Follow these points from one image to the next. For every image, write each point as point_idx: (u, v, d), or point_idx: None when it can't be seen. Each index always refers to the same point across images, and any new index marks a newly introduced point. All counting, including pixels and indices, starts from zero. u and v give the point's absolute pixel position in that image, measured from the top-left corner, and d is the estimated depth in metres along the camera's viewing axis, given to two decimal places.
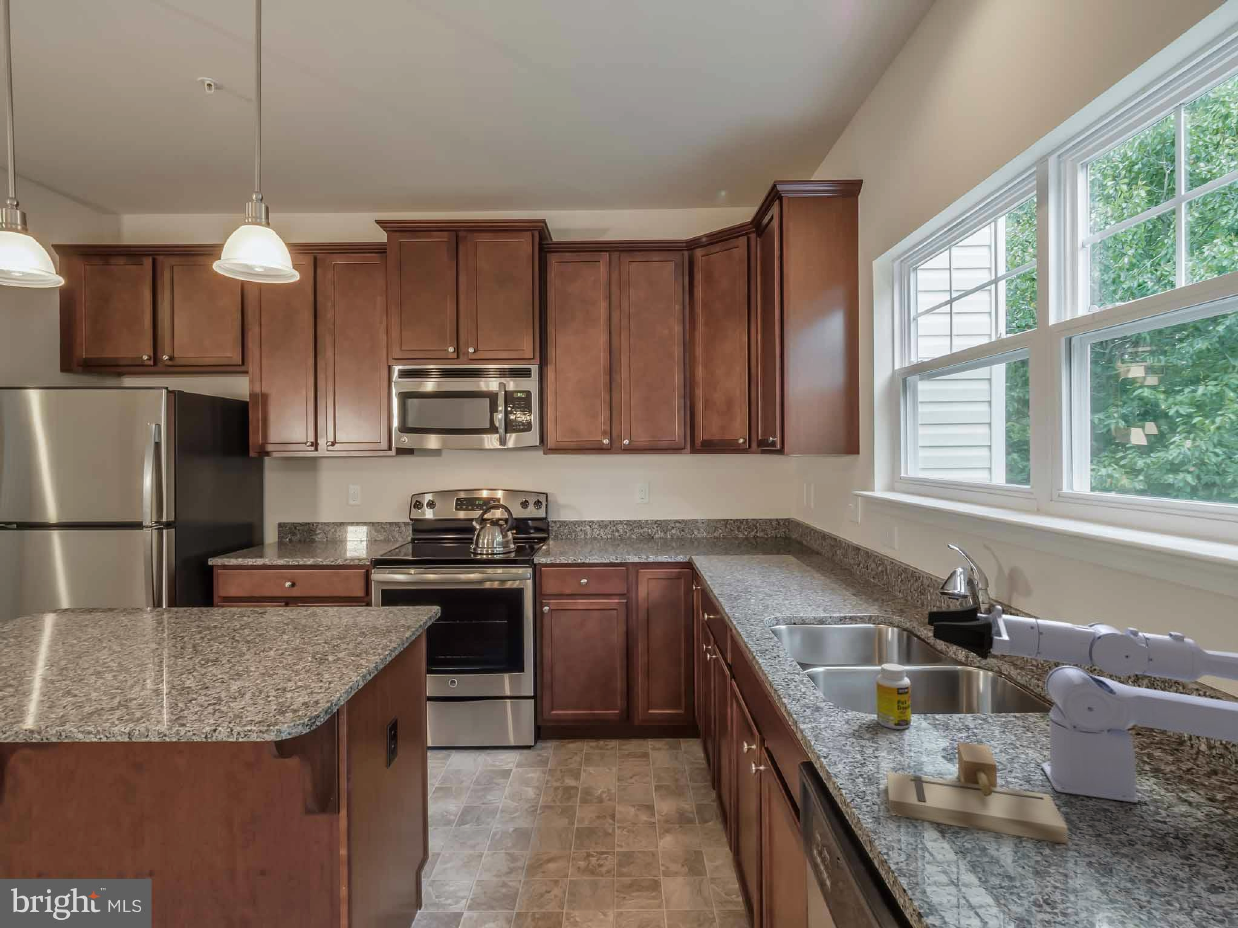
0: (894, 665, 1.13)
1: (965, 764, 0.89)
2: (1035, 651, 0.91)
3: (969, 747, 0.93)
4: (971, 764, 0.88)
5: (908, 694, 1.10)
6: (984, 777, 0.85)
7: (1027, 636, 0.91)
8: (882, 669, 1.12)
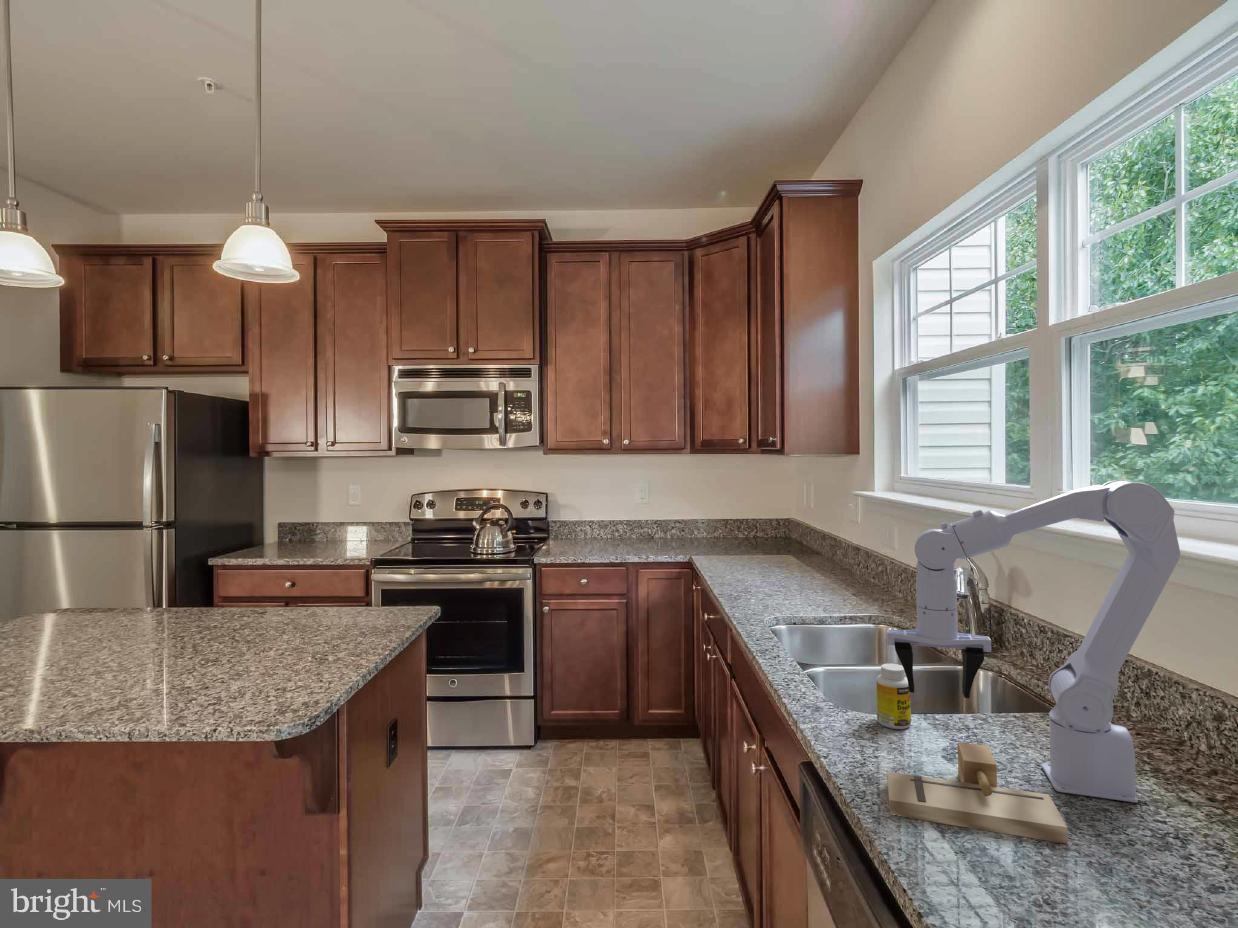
0: (894, 665, 1.13)
1: (965, 764, 0.89)
2: (919, 608, 0.99)
3: (969, 747, 0.93)
4: (971, 764, 0.88)
5: (908, 694, 1.10)
6: (984, 777, 0.86)
7: None
8: (882, 669, 1.12)
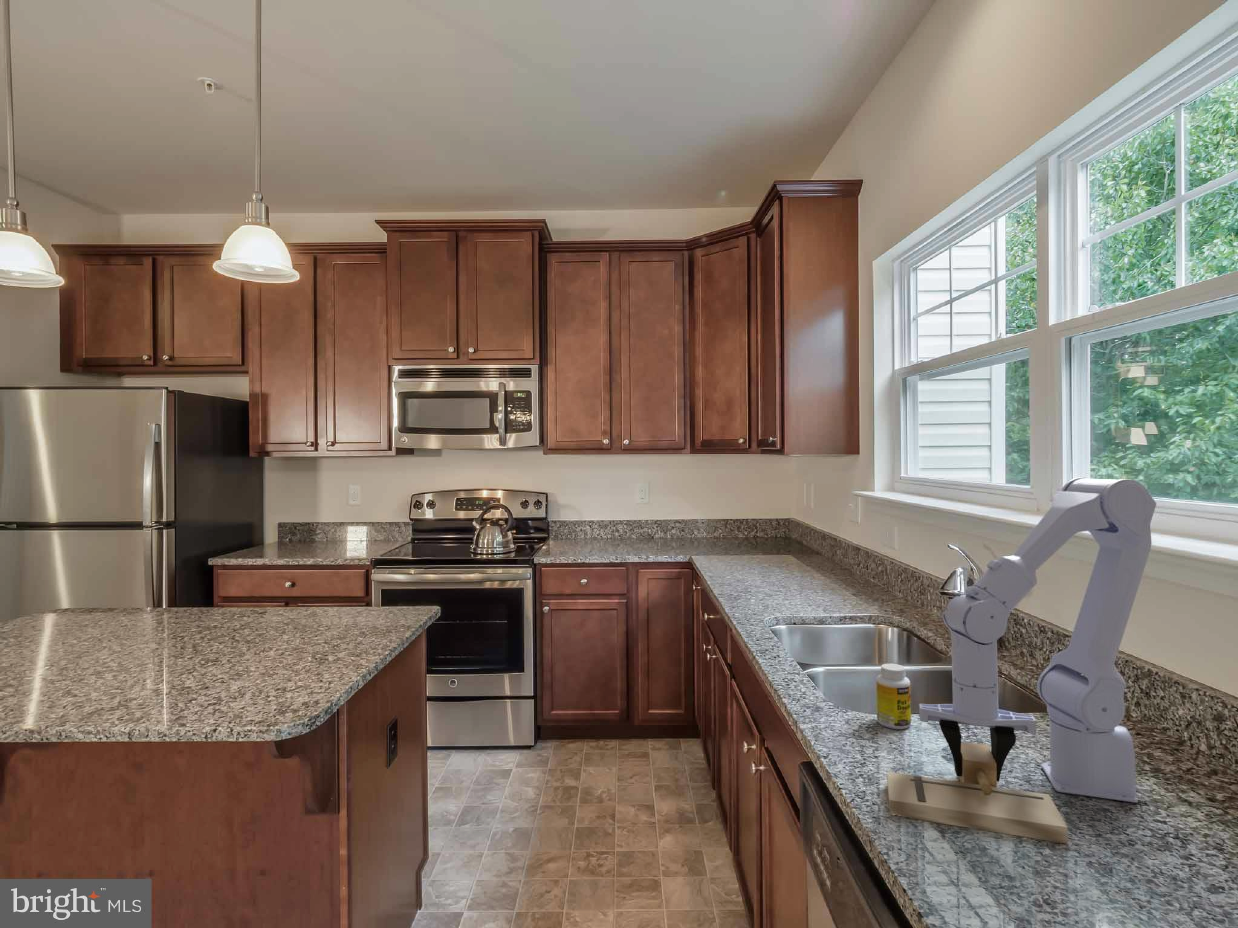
0: (894, 665, 1.13)
1: (965, 763, 0.89)
2: (955, 683, 0.90)
3: (969, 746, 0.93)
4: (971, 763, 0.88)
5: (908, 694, 1.10)
6: (984, 777, 0.86)
7: None
8: (882, 669, 1.12)
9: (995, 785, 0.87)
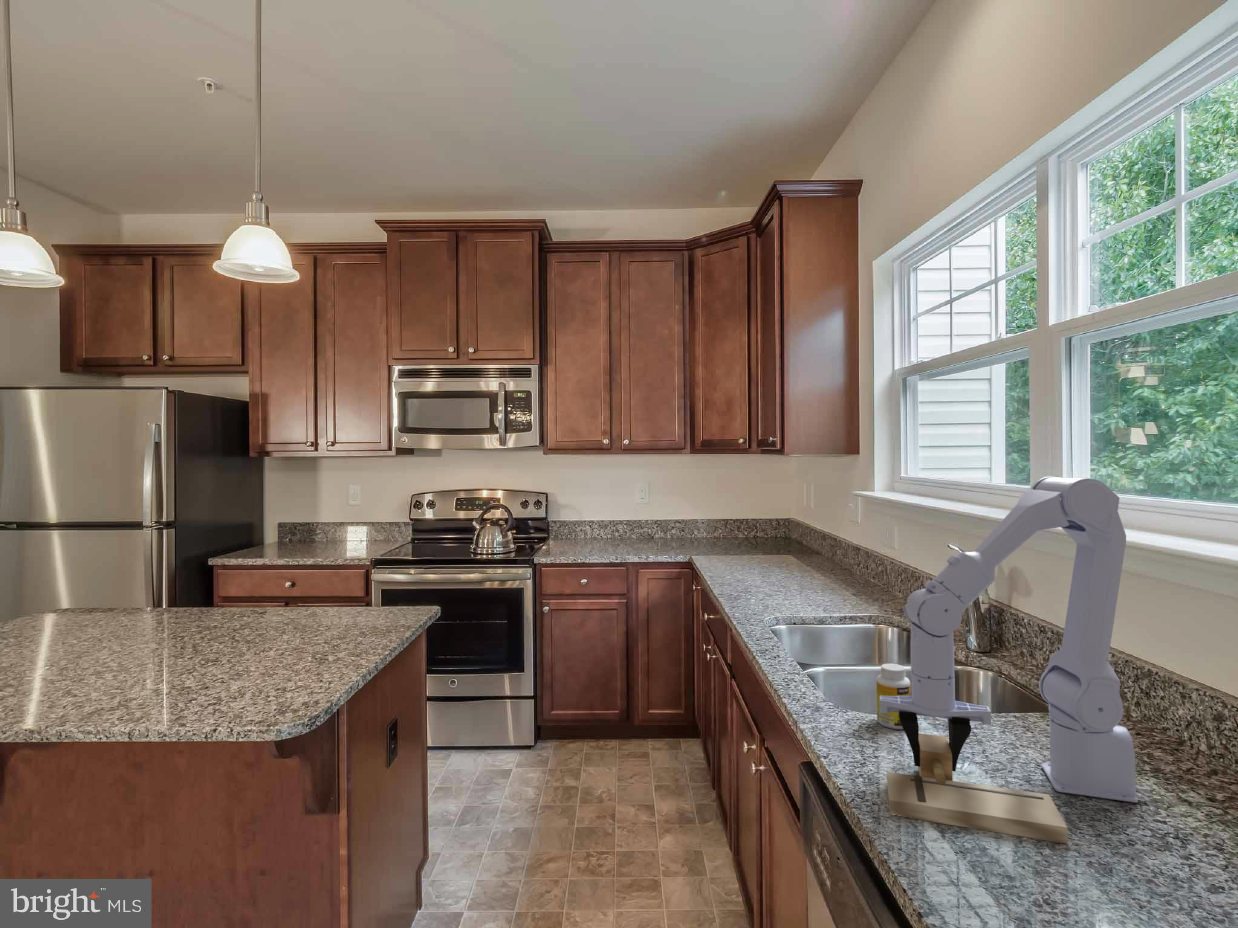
0: (894, 665, 1.13)
1: (922, 754, 0.91)
2: (914, 675, 0.92)
3: (927, 737, 0.95)
4: (928, 754, 0.90)
5: (908, 694, 1.10)
6: (939, 767, 0.87)
7: None
8: (882, 669, 1.12)
9: (951, 775, 0.89)
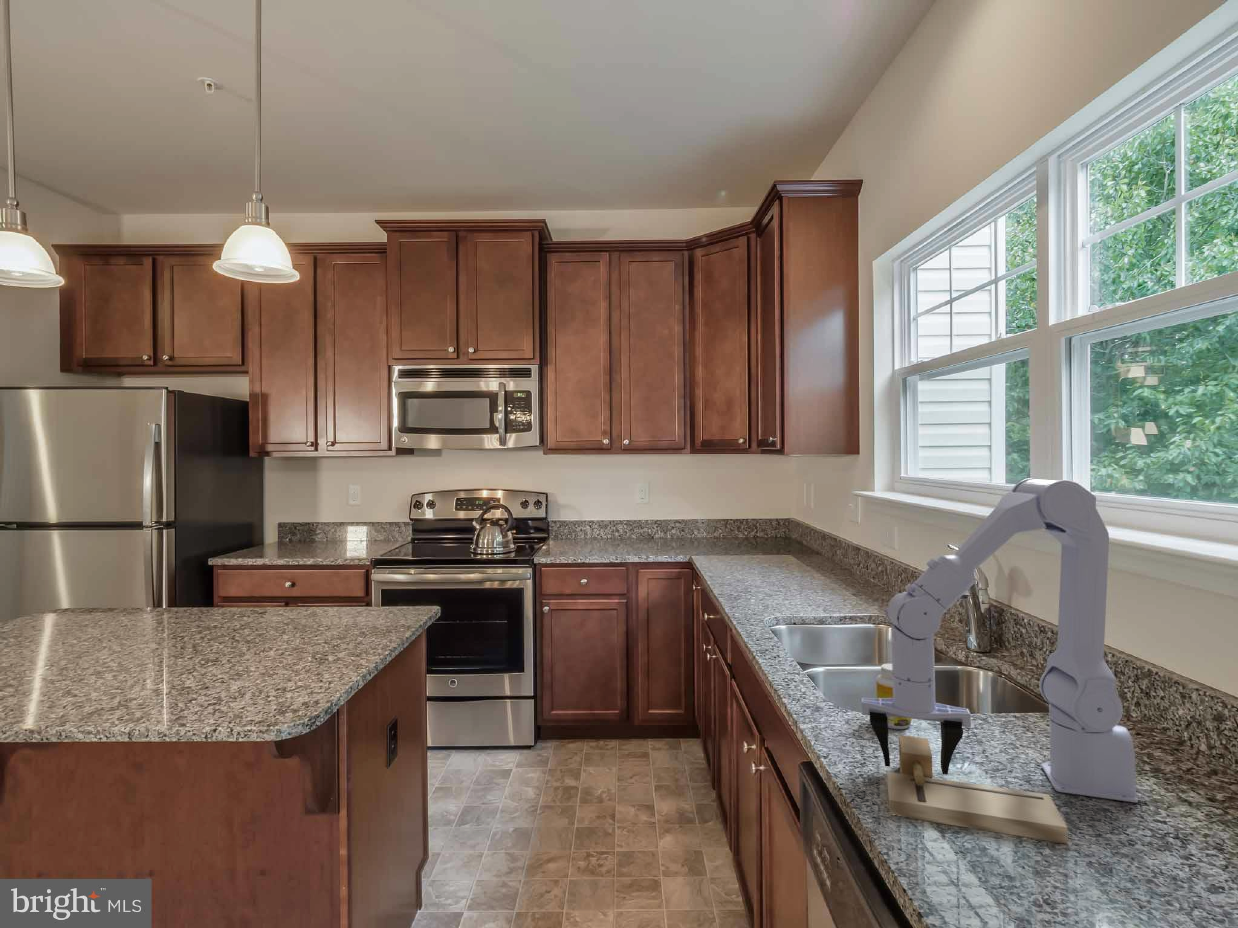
0: None
1: (903, 756, 0.91)
2: (894, 678, 0.93)
3: (909, 739, 0.95)
4: (909, 755, 0.91)
5: None
6: (918, 768, 0.88)
7: None
8: (882, 669, 1.12)
9: (931, 777, 0.90)
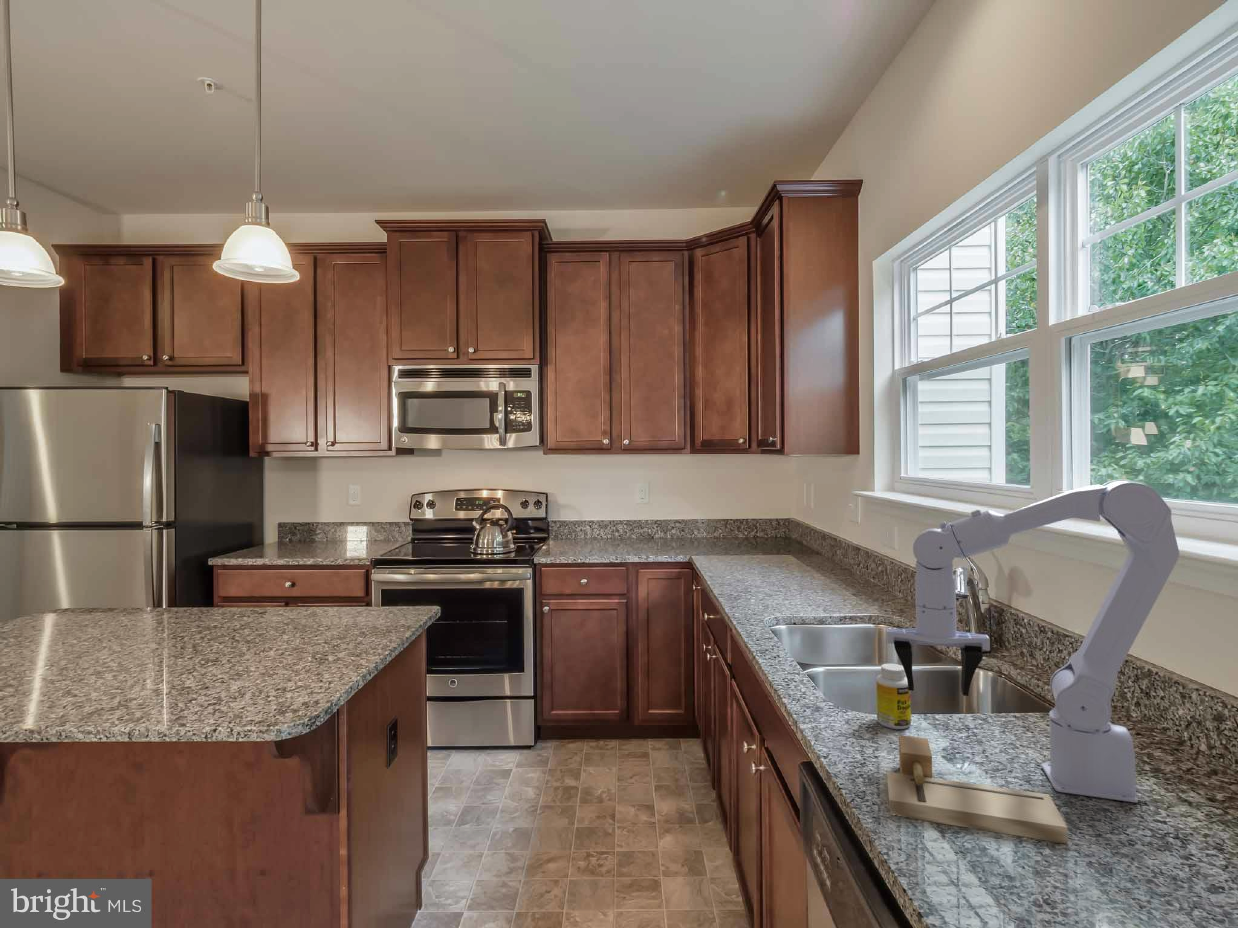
0: (894, 665, 1.13)
1: (902, 756, 0.91)
2: (918, 607, 1.00)
3: (909, 739, 0.95)
4: (908, 755, 0.91)
5: (908, 694, 1.10)
6: (918, 768, 0.88)
7: None
8: (882, 669, 1.12)
9: (931, 777, 0.90)
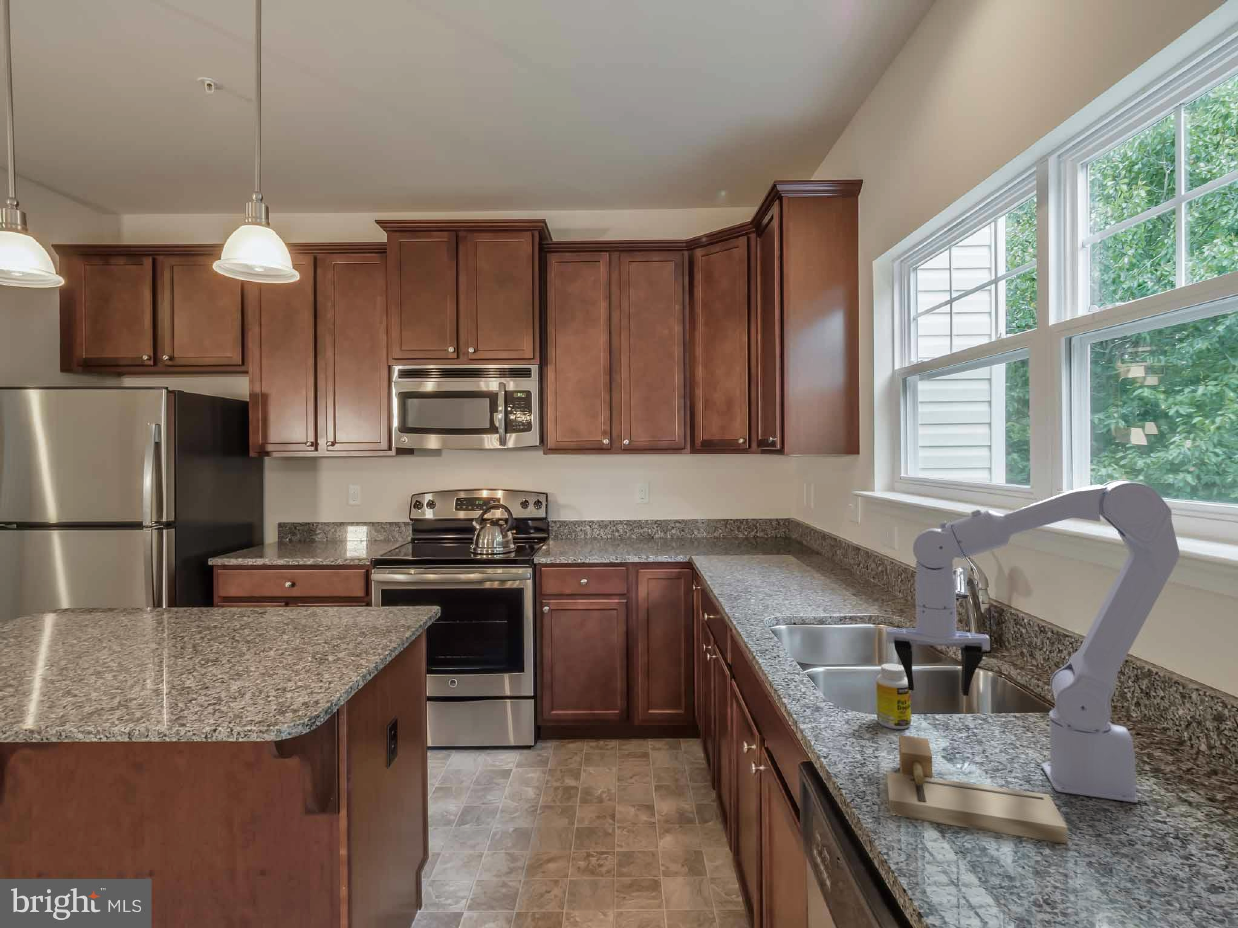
0: (894, 665, 1.13)
1: (903, 756, 0.91)
2: (918, 607, 1.00)
3: (909, 739, 0.95)
4: (909, 755, 0.91)
5: (908, 694, 1.10)
6: (918, 768, 0.88)
7: None
8: (882, 669, 1.12)
9: (931, 777, 0.90)
